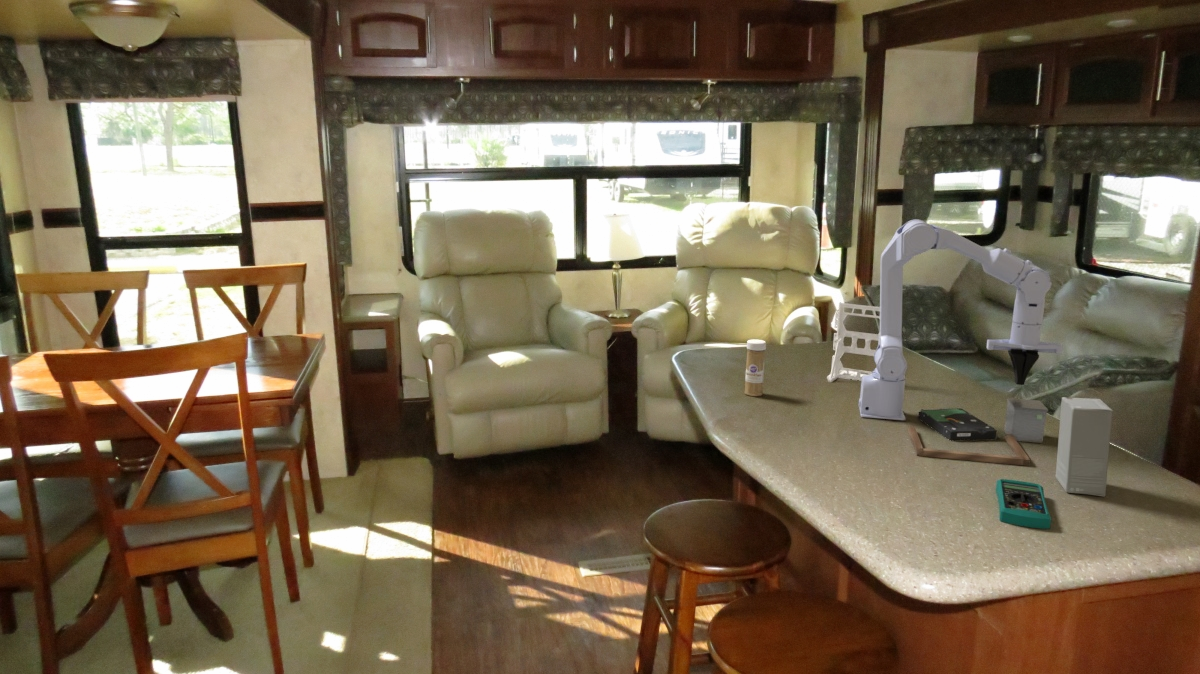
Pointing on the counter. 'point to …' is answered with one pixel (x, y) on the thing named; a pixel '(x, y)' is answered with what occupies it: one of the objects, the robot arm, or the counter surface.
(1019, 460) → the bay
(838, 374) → the white open rack frame
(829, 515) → the counter surface
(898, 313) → the robot arm
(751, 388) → the sprinkles bottle
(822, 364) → the counter surface
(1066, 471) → the skincare box
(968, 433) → the disk drive
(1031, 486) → the digital multimeter
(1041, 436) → the junction box
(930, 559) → the counter surface
